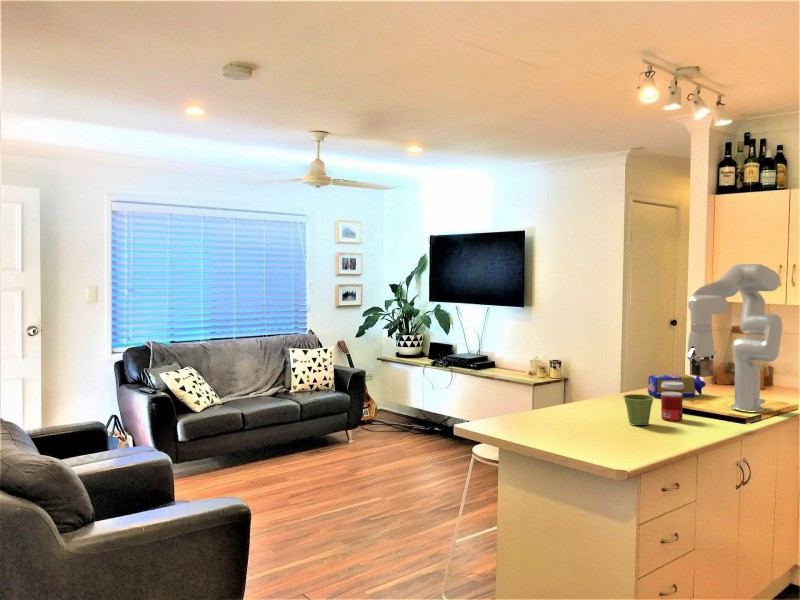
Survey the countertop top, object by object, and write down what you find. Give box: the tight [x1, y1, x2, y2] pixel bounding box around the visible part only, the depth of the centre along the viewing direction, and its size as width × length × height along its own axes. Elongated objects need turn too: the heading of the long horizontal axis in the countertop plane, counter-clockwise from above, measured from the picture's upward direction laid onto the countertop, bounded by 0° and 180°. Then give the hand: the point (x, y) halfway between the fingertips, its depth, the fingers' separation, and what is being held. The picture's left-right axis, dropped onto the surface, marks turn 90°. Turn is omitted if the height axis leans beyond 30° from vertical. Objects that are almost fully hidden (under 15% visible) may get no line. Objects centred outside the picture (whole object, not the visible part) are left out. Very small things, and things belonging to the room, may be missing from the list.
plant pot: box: [622, 393, 655, 426], centre depth 254 cm, size 12×12×11 cm
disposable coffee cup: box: [661, 381, 685, 395], centre depth 276 cm, size 10×10×12 cm
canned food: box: [660, 392, 683, 423], centre depth 260 cm, size 8×8×11 cm
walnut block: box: [689, 358, 715, 378], centre depth 249 cm, size 6×6×6 cm
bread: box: [647, 373, 707, 399], centre depth 303 cm, size 10×25×10 cm, turn 92°
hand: (701, 373), depth 249 cm, fingers closed on walnut block, 6 cm apart
